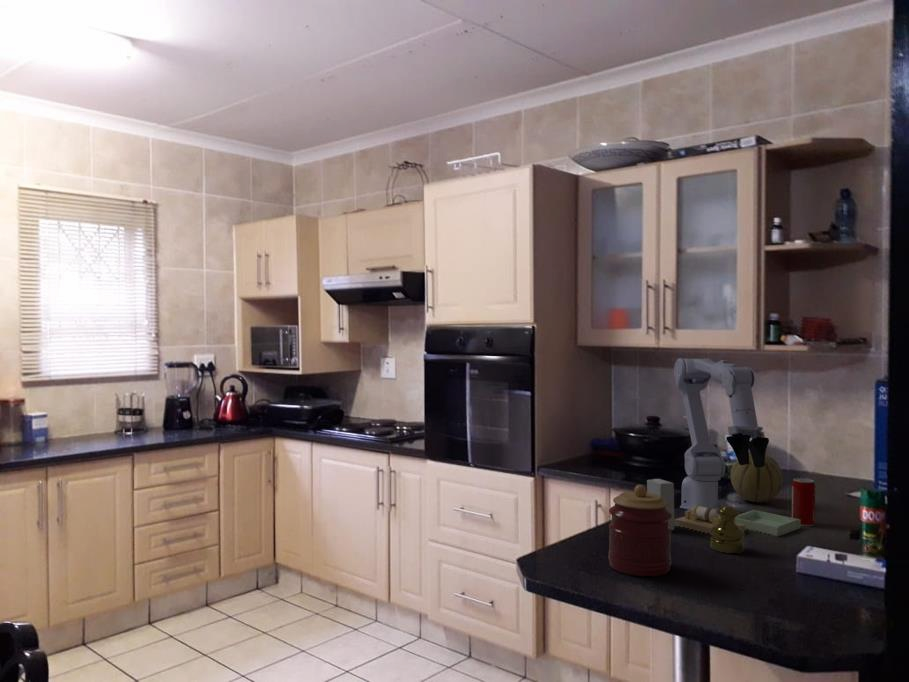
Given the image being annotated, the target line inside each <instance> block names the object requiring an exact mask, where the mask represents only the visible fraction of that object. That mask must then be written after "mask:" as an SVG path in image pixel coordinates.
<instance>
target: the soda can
mask: <svg viewBox="0 0 909 682" xmlns="http://www.w3.org/2000/svg"><path fill="white" fill-rule="evenodd" d="M791 518H795V519H800V520H801V523H800V527H812V526H814V525H815V522H816V521H815V520H816V485H815V481H814V479H810V478H803V477H796V478H793V481H792V485H791Z"/></svg>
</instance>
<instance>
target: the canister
mask: <svg viewBox="0 0 909 682" xmlns="http://www.w3.org/2000/svg"><path fill="white" fill-rule="evenodd" d="M612 501H613V503H614V505H613V506H611V507H610V508H609V510H608V512H609V514H610V515H611V516H610V517H611V519H610V523H609V525H608V528H609V540H608V541H609V543H608V545H609V547H608V553H607V554H608V558H607V559H608V561H609V566H610V567H611V568H612V569H613V570H614V571H616V572H618V573H619V572H620V573H622V574H625V575H630V576H634V575H635V576H636V577H644V576H652V577H660V576H663V574H664V575H666V574H667V573H669V572H670V569H671V567H672V557H671V538H672V537H671V536H672V535H671V534H672V531H673V530H671V528H670V527H669V519H670V518H671V517H672V514H671V513H670V512H669V511H668V510H667V509H666V507H667V505H668V503H667V501H665V500H664V499H662V498H661V497H660V496H659V495H657V494H653V493H648V492H647V486H645V485H643V484H637V485H635V487H634V489H633V491H623V492H621V493H620V494H619V495H616V496H615V497H613V499H612ZM659 575H660V576H659Z"/></svg>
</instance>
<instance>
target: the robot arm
mask: <svg viewBox="0 0 909 682" xmlns="http://www.w3.org/2000/svg"><path fill="white" fill-rule="evenodd" d="M673 374H674V380H675V384H676V388H677V389H678V390H680V391H681V396H682V401H683V406H684V412H685V417H686V421H687V427H688V431H689V435H690V440H691V446H690V447H689V448H688V449H686V451H685V452H684V470H685V472H686V475H687V476H686V477H684V479H683V480H682V483H681V501H680V502H681V504H680V506H679V509H684V510H687V511H688V510H692V509H693V507H694V506H695V505H698V506H702V507H707V508H712V509H716V510H717V509H719V508H720V507H719V506H718V505H719V504H718V503H719V481H721V479H722V477H723V476H724V474H725V472H726V467H727V466H726V462H725V459H724V458H723V456H722V452H721V449H719V448H718V447H716V446H715V445H714V444H712V442H711V439H710V434H709V429H708V426H707V420H706V415H705V412H704V406H703V402H702V396H701V391H702V390H705V389H706V388H707V386H708V384H709V382H710V381H711V378H712V380H713V381H715V382H716V383H720V384H722V387H723V388H724V390H725V394H726V396H727V397H728V399H729V406H730V413H731V419H732V425H731V426H728V427H727V431H728V432H727V433H728V435H729V436H726V437H725V439H726V441H727V443H728V444H729V445H730V446H731V448H732V451H733V452H734V454H735V457H736V459H737V460H738V462H739V464H740V465H747V464H749V453H751V456H752V460H753V463H754V466H755V468H758V467H764V463H765V455H766V452H767V447H768V445H769V443H770V439H769V437H766V436H765V432H764V431H763V430H764V428H763V426H759V424H758V420H757V414H756V407H755V401H754V395H753V390H752V388H753V387H754V385H755V380H756V379H755V373H754V371H753V369H752V368H751V367H749V366H743V367H740V366H738V365H737V364H736V363H729V360H727V359H721V360H720V361H717V362H715V361H713V359H712V358H708V357H707V358H706V357H705V358H681V357H679V358H677V359H676V361H675V363H674V366H673ZM737 460H736V461H737Z"/></svg>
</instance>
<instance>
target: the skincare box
mask: <svg viewBox="0 0 909 682" xmlns="http://www.w3.org/2000/svg"><path fill="white" fill-rule="evenodd" d="M646 484H647V485H646V490H647V492H648V493H653V494H657V495H659V496H660V497H661V498H662V499H664V500H665V501H667V503H668V505H667V507H666V509H667V510H668V511H669V512H670V513H671V514H672V517H671V518H670V519H669V527H670V528H671V531H675V483H674V482H671V481H668V480H666V479H665V480H664V479H661V478H652V479H647V480H646Z"/></svg>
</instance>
